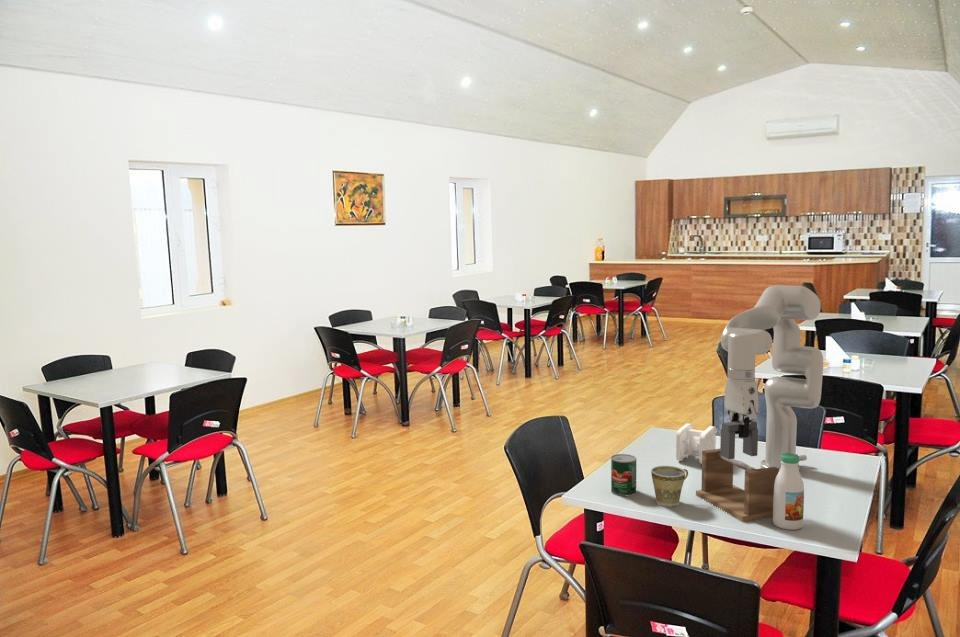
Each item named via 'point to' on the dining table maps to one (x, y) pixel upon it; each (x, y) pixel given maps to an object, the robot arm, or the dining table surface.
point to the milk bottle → (788, 494)
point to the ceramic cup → (668, 484)
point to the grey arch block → (729, 439)
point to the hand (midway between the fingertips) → (739, 435)
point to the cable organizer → (694, 442)
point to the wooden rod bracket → (732, 498)
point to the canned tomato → (623, 474)
